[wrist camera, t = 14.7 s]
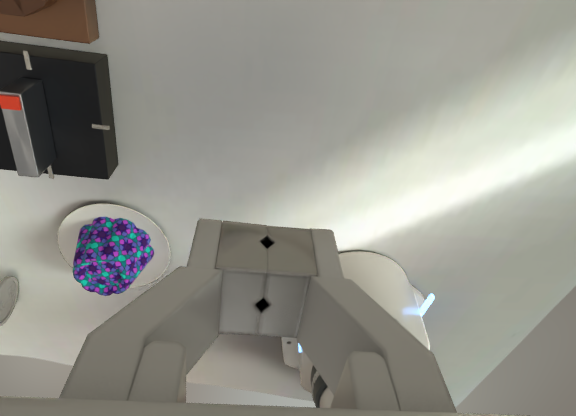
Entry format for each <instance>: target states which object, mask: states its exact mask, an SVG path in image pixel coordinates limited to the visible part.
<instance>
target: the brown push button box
mask: <svg viewBox="0 0 576 416" xmlns="http://www.w3.org/2000/svg"><path fill="white" fill-rule="evenodd" d="M0 32H4V33H11V34H19V35H27V36H34V37H42V38H50V39H57V40H65V41H73V42H80V43H88V44H90V43H91V42H93V41H95V40H96V39H98V38H99V32H98V23H97V14H96V5H95V0H0Z"/></svg>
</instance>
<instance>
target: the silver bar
mask: <svg viewBox="0 0 576 416" xmlns="http://www.w3.org/2000/svg"><path fill="white" fill-rule="evenodd" d="M0 106H1V109H2V112H3V116H4V120H5V124H6V128H7V132H8V136H9V140H10V144H11V148H12V152H13V156H14V160H15V164H16V168H17V172H18V175H19V176H29V177H39V176H40V175H41V174H42V173H43V172H44V171H45V170H46V169H47V168H48V167H49V166H50V165H51V164H52V163H53V162H54V160H55V159H56V152H55V147H54V142H53V136H52V131H51V126H50V120H49V115H48V110H47V104H46V99H45V94H44V88H43V83H42V80H37V79H29V78H20V79H18V80H16V81H14V82H13V83H11V84H9V85H8V86H6V87H4V88H2V89H1V90H0Z"/></svg>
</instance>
